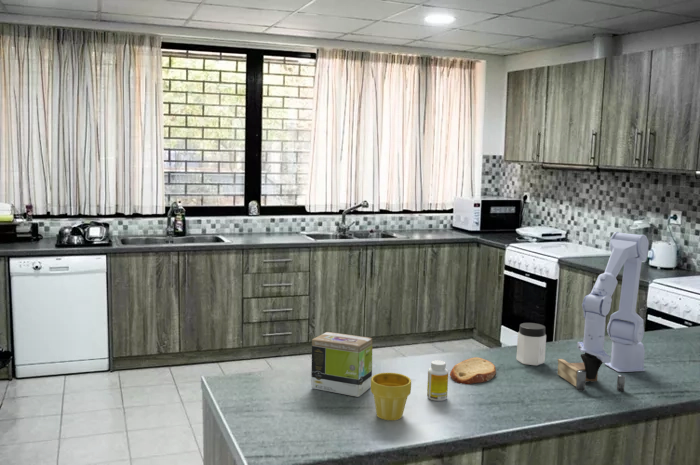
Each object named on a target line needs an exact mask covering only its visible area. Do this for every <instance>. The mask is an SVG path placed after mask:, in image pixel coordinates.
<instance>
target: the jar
mask: <svg viewBox="0 0 700 465" xmlns="http://www.w3.org/2000/svg"><path fill="white" fill-rule="evenodd" d="M546 344H547V334H546V326H545V325H544V324H540V323H535V322H523V323H520V324H519V331H518V332H517V344H516V358H515V359H516V361H518V362H519V363H521V364H522V365H531V366H539V365H542V364H544V363H545V361H546V360H545V358H546V349H547V348H546Z"/></svg>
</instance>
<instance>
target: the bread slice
mask: <svg viewBox="0 0 700 465" xmlns="http://www.w3.org/2000/svg"><path fill="white" fill-rule="evenodd" d="M496 369H497V368H496V365H494V363H493V362H491V361H489V360H487V359H484V358H482V357H478V356H476V357H470V358H467V359H463V360H462V361H460V362H459V363H456V364H455V365H454V366H453V367H452V369H451V371H450V373H449V376H450V379H452V381H454V382H455V383H456V382H457V383H456V384H460V383H462V385H473V383H474V384H483V383H487V382H489V381H490V380H492V379H493V378H495V375H496V373H497V370H496Z"/></svg>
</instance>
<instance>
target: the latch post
mask: <svg viewBox="0 0 700 465" xmlns="http://www.w3.org/2000/svg"><path fill="white" fill-rule="evenodd" d="M616 381H617V382H616V391H617V392H620V391H621V392H625V382H626V375H624V374H617V380H616Z"/></svg>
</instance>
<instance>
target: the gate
mask: <svg viewBox="0 0 700 465" xmlns="http://www.w3.org/2000/svg"><path fill="white" fill-rule="evenodd" d="M557 362H558V363H557V373H556V374H557V375H558V376H559V377H561V378H562V379H564V380H565V381H566V382H568V383H569V384H571V385H573V386H574V387H576V383H577V371H578V370H579V369H578V368H576V367H575V366H573V365H571V364H570V363H571V362H568V361H567V360H565V359H564V358H557Z"/></svg>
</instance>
